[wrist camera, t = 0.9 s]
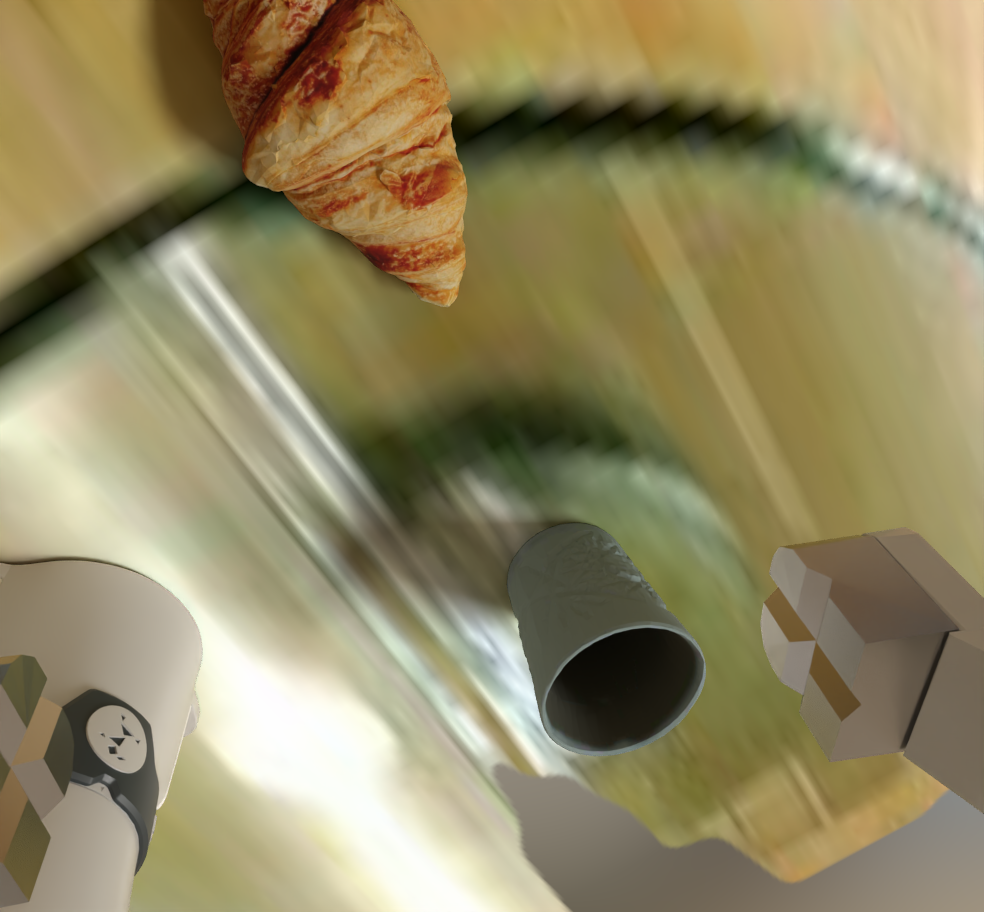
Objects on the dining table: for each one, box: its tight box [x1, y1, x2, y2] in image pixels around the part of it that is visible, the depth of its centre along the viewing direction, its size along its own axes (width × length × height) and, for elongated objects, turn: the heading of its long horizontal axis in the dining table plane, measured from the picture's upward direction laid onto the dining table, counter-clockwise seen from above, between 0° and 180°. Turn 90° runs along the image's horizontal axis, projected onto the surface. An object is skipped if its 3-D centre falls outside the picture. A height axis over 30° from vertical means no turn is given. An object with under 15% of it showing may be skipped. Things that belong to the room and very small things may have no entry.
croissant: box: [203, 0, 468, 307], centre depth 36 cm, size 21×10×8 cm, turn 27°
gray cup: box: [507, 523, 706, 756], centre depth 50 cm, size 10×10×12 cm
